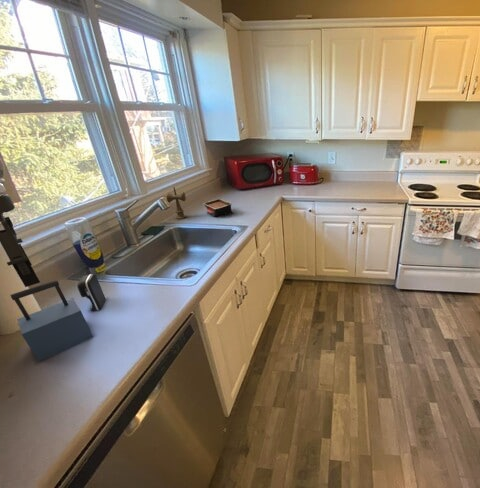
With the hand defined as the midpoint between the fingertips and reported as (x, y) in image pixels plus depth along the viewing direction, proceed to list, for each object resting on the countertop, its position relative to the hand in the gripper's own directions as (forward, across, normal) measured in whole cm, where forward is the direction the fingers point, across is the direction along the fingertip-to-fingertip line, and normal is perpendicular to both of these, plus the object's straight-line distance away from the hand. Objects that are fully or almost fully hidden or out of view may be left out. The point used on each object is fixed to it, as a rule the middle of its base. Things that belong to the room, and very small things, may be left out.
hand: (28, 275), depth 73 cm
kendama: (+22, +75, -70) cm, 105 cm away
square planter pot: (+22, +64, -90) cm, 112 cm away
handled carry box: (+13, -6, 0) cm, 14 cm away
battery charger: (+22, +11, -11) cm, 27 cm away
